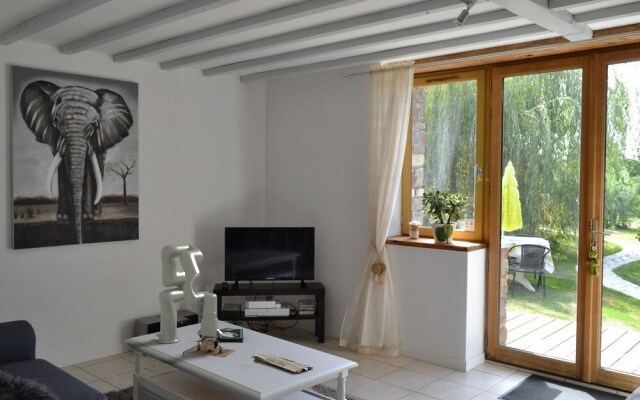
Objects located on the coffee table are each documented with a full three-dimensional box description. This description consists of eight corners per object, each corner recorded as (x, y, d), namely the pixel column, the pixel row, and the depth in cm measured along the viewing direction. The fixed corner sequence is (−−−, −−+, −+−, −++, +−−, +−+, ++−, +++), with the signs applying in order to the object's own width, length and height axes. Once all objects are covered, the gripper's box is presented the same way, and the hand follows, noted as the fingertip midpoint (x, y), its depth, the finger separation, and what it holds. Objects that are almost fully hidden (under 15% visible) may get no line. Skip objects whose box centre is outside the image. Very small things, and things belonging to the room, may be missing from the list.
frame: (201, 348, 326) (201, 341, 325) (207, 345, 332) (207, 338, 332) (212, 349, 323) (212, 342, 323) (218, 346, 330) (218, 339, 330)
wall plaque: (190, 340, 354) (224, 350, 336) (190, 334, 354) (224, 343, 336) (225, 331, 378) (259, 339, 360) (226, 325, 378) (259, 333, 360)
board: (182, 354, 326) (183, 345, 326) (196, 347, 339) (196, 338, 339) (224, 360, 317) (224, 350, 317) (236, 352, 330) (236, 343, 330)
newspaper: (312, 370, 304) (313, 363, 304) (296, 375, 295) (296, 369, 295) (266, 355, 328) (266, 349, 328) (250, 360, 318) (250, 354, 318)
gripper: (193, 315, 327) (193, 347, 327) (220, 318, 321) (220, 350, 321) (200, 313, 334) (200, 343, 334) (227, 315, 328) (226, 346, 328)
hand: (210, 346), depth 328 cm, fingers closed on frame, 7 cm apart
